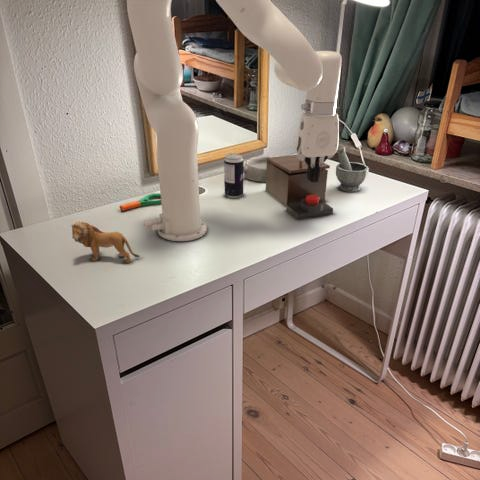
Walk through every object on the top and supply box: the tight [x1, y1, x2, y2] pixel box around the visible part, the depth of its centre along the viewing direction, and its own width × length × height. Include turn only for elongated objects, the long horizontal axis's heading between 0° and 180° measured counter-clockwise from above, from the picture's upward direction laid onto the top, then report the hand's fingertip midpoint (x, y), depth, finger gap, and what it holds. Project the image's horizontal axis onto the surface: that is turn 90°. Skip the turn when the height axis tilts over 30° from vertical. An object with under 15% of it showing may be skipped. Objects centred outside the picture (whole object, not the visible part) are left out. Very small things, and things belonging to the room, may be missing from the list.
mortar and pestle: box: [335, 146, 370, 193], centre depth 150 cm, size 11×9×12 cm
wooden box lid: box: [267, 154, 331, 174], centre depth 141 cm, size 15×13×5 cm
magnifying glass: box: [119, 192, 162, 212], centre depth 141 cm, size 15×6×2 cm, turn 133°
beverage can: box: [223, 152, 245, 199], centre depth 144 cm, size 6×6×12 cm
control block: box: [286, 198, 334, 221], centre depth 136 cm, size 11×8×4 cm
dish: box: [244, 155, 273, 183], centre depth 161 cm, size 14×14×5 cm
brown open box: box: [265, 161, 329, 208], centre depth 145 cm, size 15×13×9 cm
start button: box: [306, 195, 319, 205], centre depth 134 cm, size 4×4×2 cm
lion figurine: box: [70, 221, 140, 264], centre depth 112 cm, size 15×5×9 cm, turn 90°
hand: (312, 180), depth 131 cm, fingers closed
